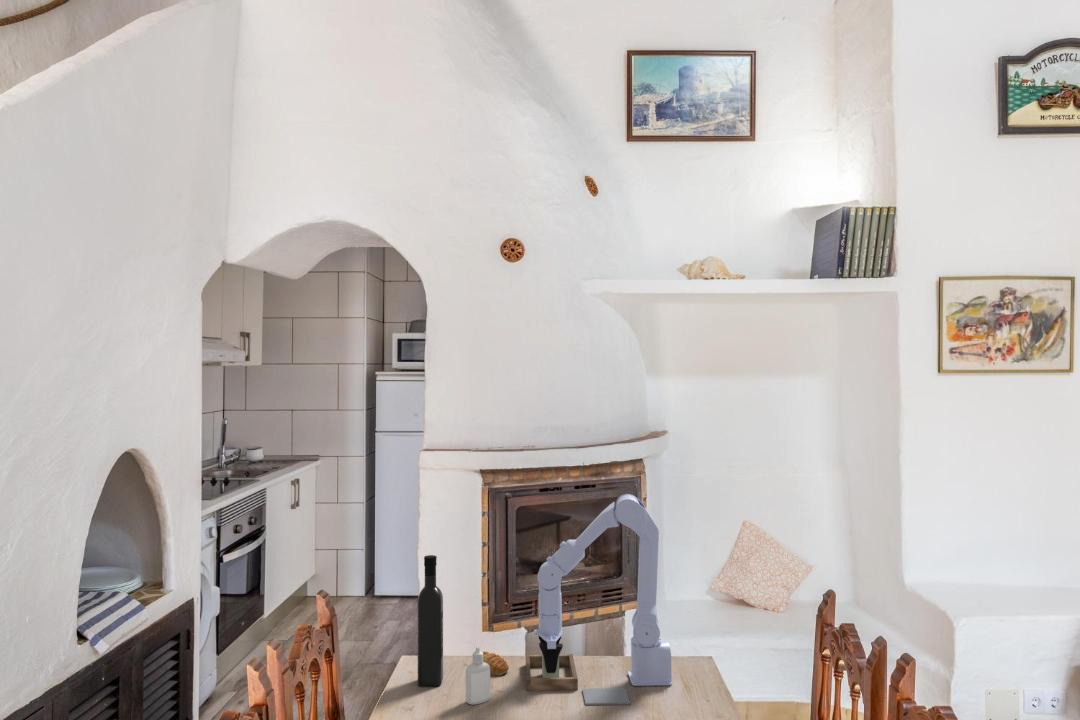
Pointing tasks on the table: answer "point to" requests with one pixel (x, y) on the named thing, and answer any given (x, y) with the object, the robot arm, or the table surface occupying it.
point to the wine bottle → (430, 628)
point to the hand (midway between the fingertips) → (550, 668)
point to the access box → (551, 683)
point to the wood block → (549, 675)
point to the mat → (605, 696)
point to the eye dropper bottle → (477, 680)
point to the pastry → (495, 663)
